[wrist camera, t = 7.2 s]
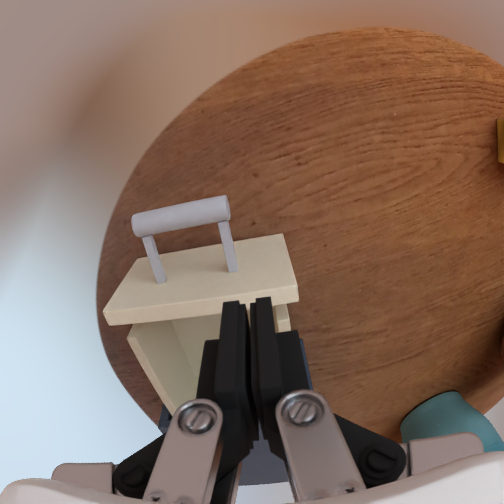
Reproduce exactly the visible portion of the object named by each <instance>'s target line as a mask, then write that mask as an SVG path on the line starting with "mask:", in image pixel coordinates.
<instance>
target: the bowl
mask: <svg viewBox="0 0 504 504" xmlns="http://www.w3.org/2000/svg"><path fill="white" fill-rule="evenodd" d="M500 353H501V358H502V361H503V364H504V337H503V340H502V344H501V349H500Z"/></svg>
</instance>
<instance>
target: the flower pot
mask: <svg viewBox="0 0 504 504" xmlns="http://www.w3.org/2000/svg"><path fill="white" fill-rule="evenodd" d="M400 431H401V434H402V443H408V442H409V440H416V439H424V438H431V437H437V436H443V435H449V434H454V433H459V432H472V433H474V434H476V435H477V436H478V437H479V438H480V439H481V441H482V444H483V448H484V453H485V452H493V451H504V442H503V441H502V439H501V438H500V436H499V434H498V433H497V431H496V430H495V428H494V427H493V425H492V424H491V423H490V422H489V420H488V419H487V418H485V416H483V415H482V414H481V413H480V412H479V411H477V410H476V409H475V408H473V407H472V406H471V405H470V404H468V403H467V402H466V401H465V400H464V399H463V398H462V396H461V394H460V393H458V392H455V391H453V392H446V393H443V394H440V395H438V396H435V397H433V398H431V399H429V400H428V401H426V402H424V403H423V404H421V405H420V406H418V407H417V408H416V409H414V410H413V411H412V412H411V413H410V414H409V415H408V416H407V417H406V418H405V419H404V420H403V422H402V423H401V426H400Z"/></svg>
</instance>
